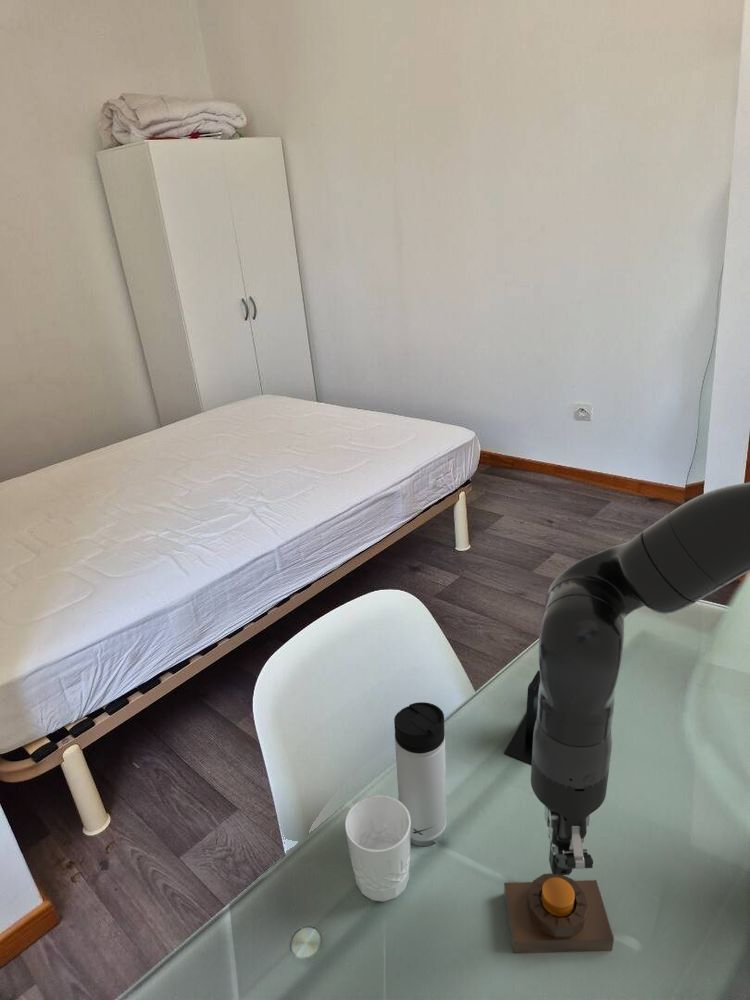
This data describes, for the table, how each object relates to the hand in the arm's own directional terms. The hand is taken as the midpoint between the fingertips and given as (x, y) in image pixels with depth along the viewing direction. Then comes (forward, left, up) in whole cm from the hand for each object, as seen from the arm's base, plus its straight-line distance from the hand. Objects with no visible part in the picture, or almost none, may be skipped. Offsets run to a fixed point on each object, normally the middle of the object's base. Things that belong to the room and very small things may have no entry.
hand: (560, 868), depth 76 cm
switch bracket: (-15, -23, -9) cm, 29 cm away
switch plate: (0, 0, -9) cm, 9 cm away
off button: (0, 0, -5) cm, 5 cm away
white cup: (+16, -14, -9) cm, 23 cm away
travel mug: (+8, -18, -9) cm, 22 cm away
